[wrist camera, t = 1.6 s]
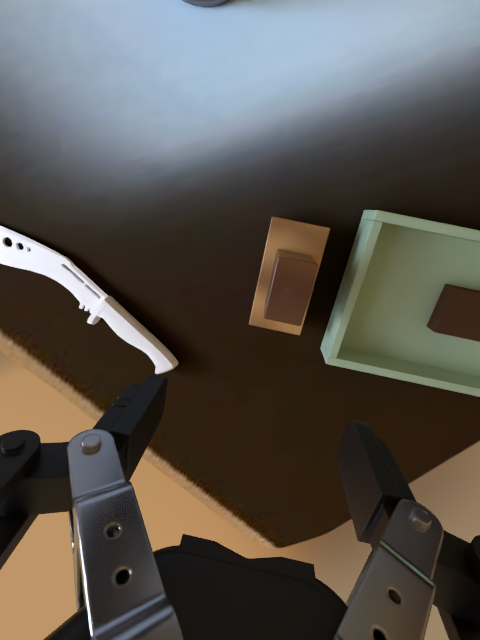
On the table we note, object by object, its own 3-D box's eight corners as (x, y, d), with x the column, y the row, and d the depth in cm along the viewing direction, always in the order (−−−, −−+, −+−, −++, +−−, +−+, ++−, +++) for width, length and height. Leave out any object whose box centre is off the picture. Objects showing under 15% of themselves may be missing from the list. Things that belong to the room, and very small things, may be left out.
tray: (363, 209, 27) (377, 209, 24) (582, 253, 27) (626, 260, 23) (320, 347, 32) (325, 363, 29) (503, 386, 32) (530, 407, 28)
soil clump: (444, 283, 28) (454, 287, 27) (491, 293, 28) (504, 297, 27) (425, 326, 30) (434, 332, 28) (470, 335, 30) (480, 342, 28)
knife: (-90, 210, 30) (-61, 147, 28) (-72, 210, 32) (-43, 150, 29) (135, 405, 35) (178, 365, 32) (141, 397, 36) (183, 358, 34)
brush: (271, 215, 28) (272, 217, 21) (324, 226, 28) (342, 232, 21) (250, 314, 32) (244, 344, 25) (297, 324, 32) (305, 357, 25)
